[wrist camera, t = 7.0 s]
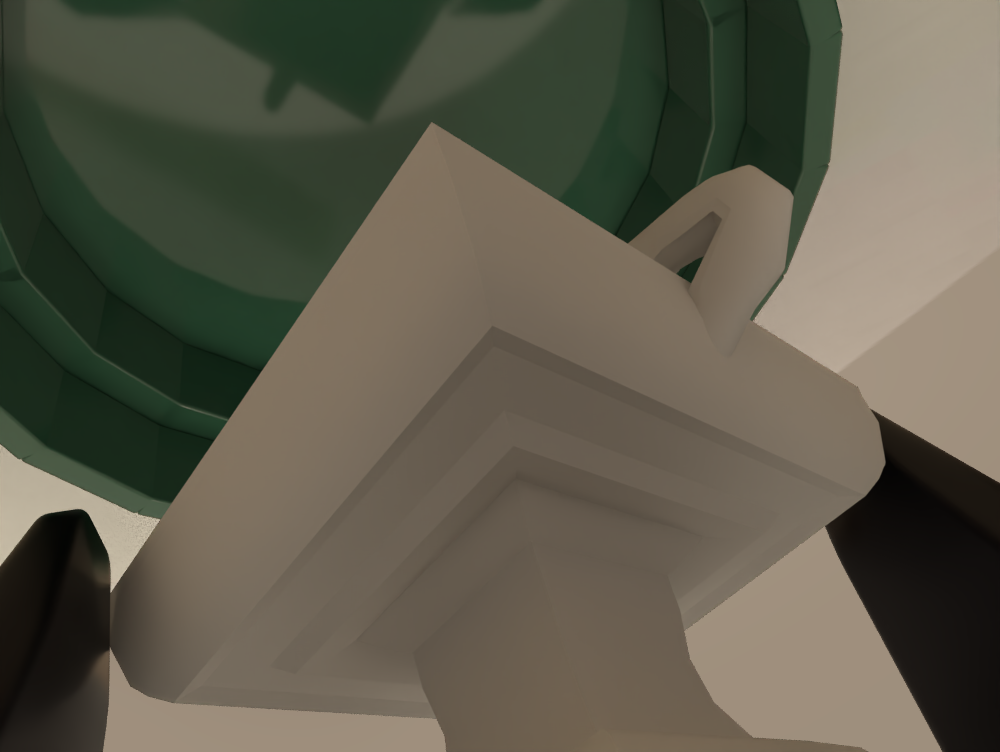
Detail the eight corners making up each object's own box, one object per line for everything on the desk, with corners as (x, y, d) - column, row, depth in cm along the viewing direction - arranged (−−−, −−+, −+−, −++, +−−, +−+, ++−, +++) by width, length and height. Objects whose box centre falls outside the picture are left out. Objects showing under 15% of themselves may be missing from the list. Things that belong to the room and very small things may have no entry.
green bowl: (814, -334, 13) (1030, -333, 9) (634, 361, 24) (704, 481, 20) (-328, -466, 9) (-670, -544, 6) (82, 433, 20) (51, 595, 17)
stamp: (463, 569, 14) (623, 1197, 9) (95, 497, 11) (-76, 1530, 5) (827, 209, 10) (1591, 909, 5) (446, -107, 7) (1970, 1523, 1)
